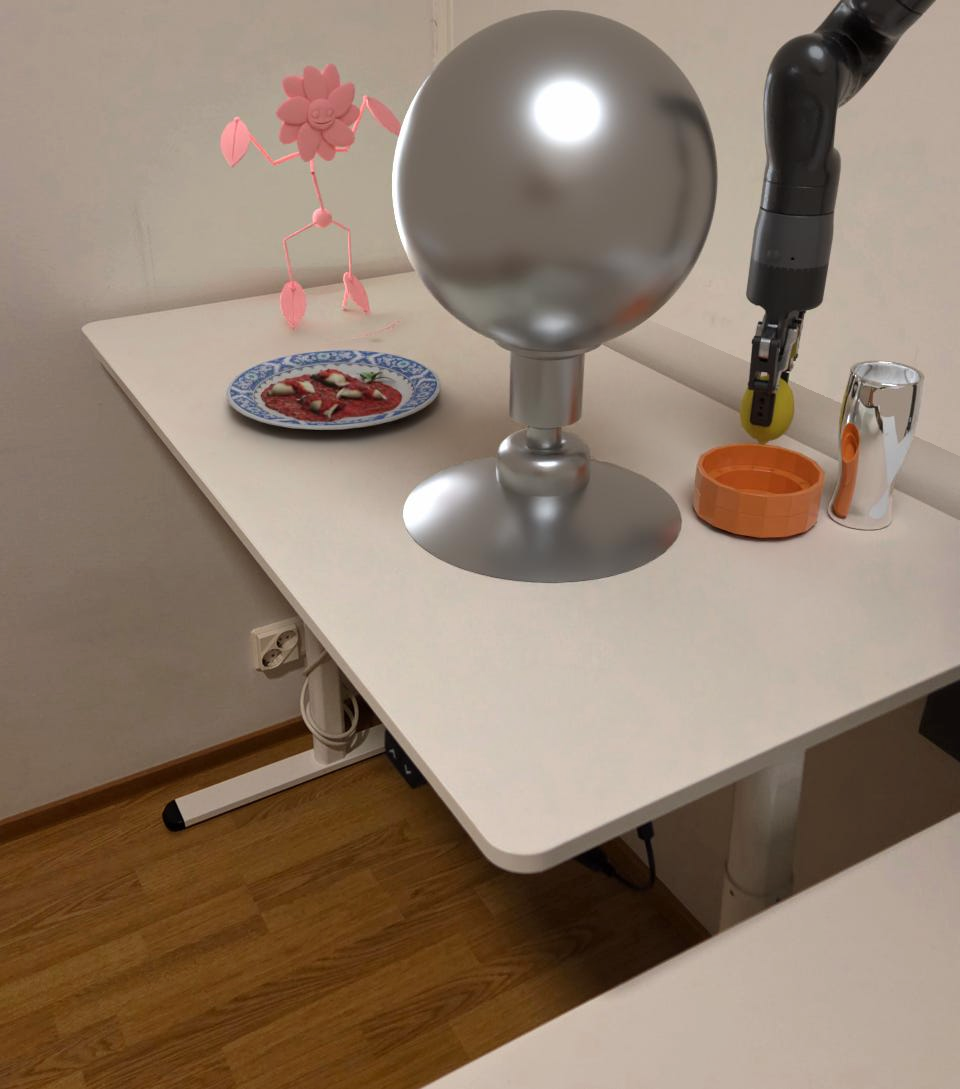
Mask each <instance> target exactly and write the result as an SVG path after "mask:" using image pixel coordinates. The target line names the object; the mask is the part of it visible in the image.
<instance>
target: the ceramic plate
mask: <svg viewBox="0 0 960 1089" xmlns="http://www.w3.org/2000/svg"><path fill="white" fill-rule="evenodd" d="M441 385H442V383H441V380H440V377H439V376H438V375H437V373H436V372H435V371H434V370H432V369H431V368H430V367H429V366H426V365H425V364H423V363H421V362H419V361H416V360H414V359H411V358H408V357H404V356H400V355H399V354H398V355H397V354H392V353H386V352H379V351H372V350H358V349H357V350H356V349H355V350H354V349H351V350H350V349H332V350H319V351H318V350H317V351H309V352H301V353H294V354H289V355H285V356H284V355H283V356H280V357H276V358H273V359H270V360H267V361H264V362H261V363H259V364H256V365H253V366H251V367H249V368H247V369H245V370H244V371H242V372H240V373H239V374H238V375H236V376H235V377H234V378H233V379H232V380H231V381H230V382H229V384H228V385H227V387H226V391H225V392H226V394H225V395H226V398H227V402H228V403H229V405H230V406H231V407H232V408H233V409H234V410H235V411H237V412H238V413H240V414H241V415H243V416H245V417H246V418H250V419H252V420H254V421H258V422H260V423H264V424H267V425H271V426H276V427H277V426H278V427H283V428H289V429H295V430H296V429H299V430H316V431H317V430H319V431H323V430H325V431H329V430H332V431H333V430H348V429H358V428H367V427H371V426H376V425H381V424H384V423H386V424H387V423H389V422H393V421H397V420H399V419H403V418H406V417H408V416H411V415H413V414H416V413H417V412H419V411H421V410H423V409H425V408H426V407H427V406H429V405H431V404H432V403H433V402H434V401H435V399H437V398H438V396H439V394H440V391H441Z"/></svg>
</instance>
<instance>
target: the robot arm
mask: <svg viewBox="0 0 960 1089" xmlns="http://www.w3.org/2000/svg"><path fill="white" fill-rule="evenodd" d="M936 1H937V0H839V1H838V2H837V4H836V5H835V6H834V7H833V9H832V10H831V11H830V12H829V14H828V15H827V16H826V17H825V19H824V20H823V21H822V22H821V24H819V25H818V27H817V28H816V29H815V30H814V31H813V32H811V33H805V34H800V35H797V36H794V37H793V38H790V39H789V40H788V41H786V42H785V43H784V44H782V45H781V46H780V47H779V49H778V50H777V51H776V53H775V54H774V56H773V58H772V59H771V61H770V63H769V68H768V70H767V73H766V77H765V82H764V89H763V99H762V101H763V102H762V103H763V104H762V105H763V108H762V110H763V135H764V146H765V157H766V160H765V166H764V171H763V180H762V186H761V187H762V188H761V195H760V202H759V203H760V204H759V209H758V212H757V213H758V214H757V216H756V221H755V224H754V229H753V236H752V243H751V252H750V260H749V267H748V276H747V284H746V291H745V296H746V299H747V300H748V302H750V303H751V304H752V305H755V306H756V307H760V308H762V309H763V310H764V311H765V312H764V315H763V317H762V321H761V320H758V322H757V324H756V328H755V334H754V336H753V337H752V339H751V353H750V363H749V374H748V375H749V376H748V382H747V387H748V390H753V391H754V392H753V399H752V406H751V414H750V423H751V424H753V425H757V426H763V427H769V426H770V425H771V423H772V421H773V414H774V407H775V400H776V393H777V391H778V390H779V386H778V385H779V381H780V378H781V379H783V380H784V381H786V382H787V383H788V384H789V381H790V380H789V379H790V374H791V373H792V371H793V369H794V367H795V364H794V362H796V361H797V359H798V358H799V349H800V342H801V336H802V331H803V329H804V320H805V315H806V313H807V311H811V310H814V309H816V308H818V307H819V306H821V305H822V303H823V301H824V296H825V289H826V284H827V277H828V271H829V264H830V260H831V259H830V258H831V253H832V247H833V241H834V240H833V239H834V225H835V223H834V222H835V210H836V204H837V198H838V192H839V186H840V180H841V172H842V157H841V154H840V152H839V150H838V149H837V148H836V147H835V135H836V124H837V113H838V109H840V108H842V107H843V106H845V105H846V104H847V103H849V102H850V101H851V100H852V99H853V98H854V97H855V96H856V95H857V94H858V93H859V92H861V90H862V89H863V88H864V87H865V86H866V85H867V83H868V82H869V81H870V80H871V78H872V77H873V76H874V75H875V74H876V72H877V71H878V70H879V69H880V67H881V66H882V65H883V63H884V62H885V60H886V59H887V58H888V56H889V55H890V53H891V52H892V51H893V50H894V49H895V47H896V46H897V44H898V43H899V41H900V40H901V38H902V37H903V35H905V33H906V32H907V31H908V30H909V29H910V28H911V27H912V26H913V25H914V24H916V23H917V22H918V20H919V19H920V18H922V17H923V15H924V14H925V13H927V11H928V10H929V9H930V8H931V7H932V5H934V4H935V2H936ZM762 373H766V376H767V375H768V374H769V381H768V380H762V379H760V377H762Z"/></svg>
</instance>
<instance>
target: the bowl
mask: <svg viewBox="0 0 960 1089" xmlns="http://www.w3.org/2000/svg"><path fill="white" fill-rule="evenodd" d="M825 474H826V472H825V470H823V468H822V467H821V466H820V464H819V462H817V461H816V460H814V459H813V458H811V457H808V456H807V455H806V454H803V453H802V452H800V451H795V450H793V449H789V448H786V447H783V446H778V445H771V444H759V443H758V442H757V443H756V442H749V443H747V442H745V443H744V442H743V443H741V442H740V443H728V444H724V445H720V446H715V447H711V448H710V449H709V450H707V451H705V452H704V453H702V454H700V456H699V459H698V460H697V463H696V469H695V477H694V484H693V485H694V488H693V493H692V494H693V496H692V506H693V508H694V510H695V512H696V514H697V516H698V517H700V518H701V519H702V520H704V521H705V522H706V523H708V524H709V525H711V526H712V527H715V528H718V529H721V530H724V531H726V532H729V533H732V534H735V535H740V536H746V537H752V538H785V537H791V536H794V535H799V534H801V533H806V532H807V531H808V530H809V529H811V528H812V527H813V526H815V524H817V523H818V517H819V510H820V506H821V499H822V494H823V489H824V481H825Z"/></svg>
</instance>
